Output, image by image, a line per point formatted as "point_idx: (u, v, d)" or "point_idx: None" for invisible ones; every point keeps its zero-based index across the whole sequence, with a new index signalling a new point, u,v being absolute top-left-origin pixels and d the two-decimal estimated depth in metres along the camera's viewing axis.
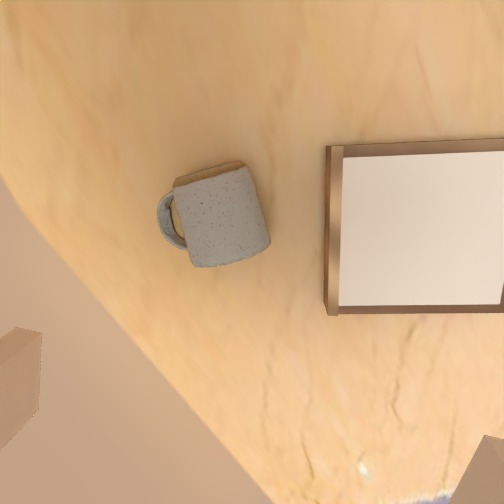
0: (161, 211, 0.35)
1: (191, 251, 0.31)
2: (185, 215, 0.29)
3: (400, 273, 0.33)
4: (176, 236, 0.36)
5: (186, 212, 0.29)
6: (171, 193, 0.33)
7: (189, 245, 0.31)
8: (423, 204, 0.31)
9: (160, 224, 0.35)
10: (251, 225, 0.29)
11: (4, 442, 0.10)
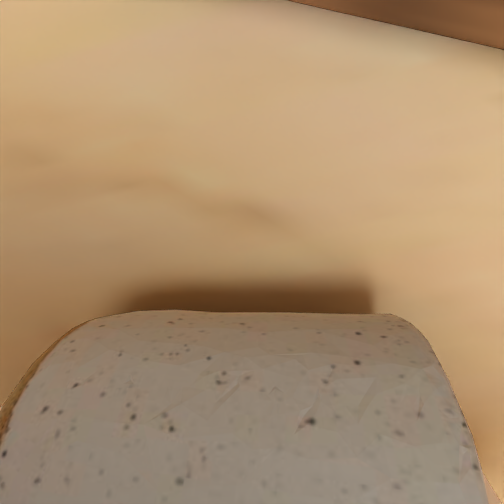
0: None
1: None
2: None
3: None
4: None
5: None
6: None
7: None
8: None
9: None
10: (296, 495, 0.05)
11: None
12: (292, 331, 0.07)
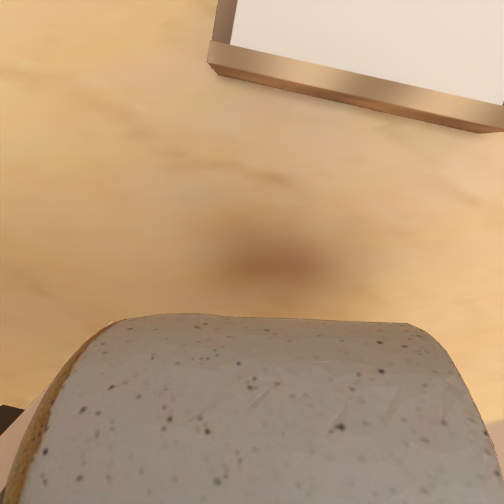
0: None
1: None
2: None
3: None
4: None
5: None
6: None
7: None
8: None
9: None
10: (329, 497, 0.05)
11: None
12: (316, 339, 0.07)
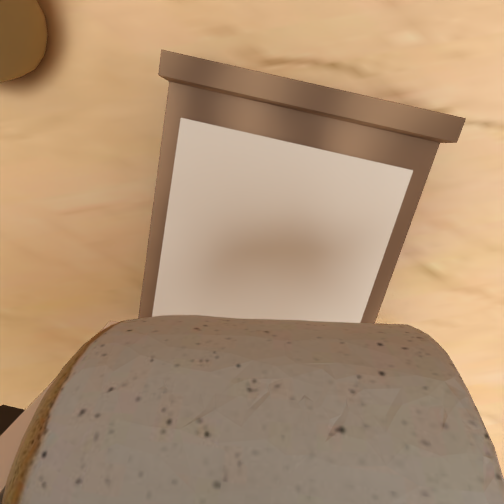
0: None
1: None
2: None
3: (316, 299, 0.23)
4: None
5: None
6: None
7: None
8: (226, 257, 0.23)
9: None
10: (329, 500, 0.05)
11: None
12: (316, 340, 0.07)
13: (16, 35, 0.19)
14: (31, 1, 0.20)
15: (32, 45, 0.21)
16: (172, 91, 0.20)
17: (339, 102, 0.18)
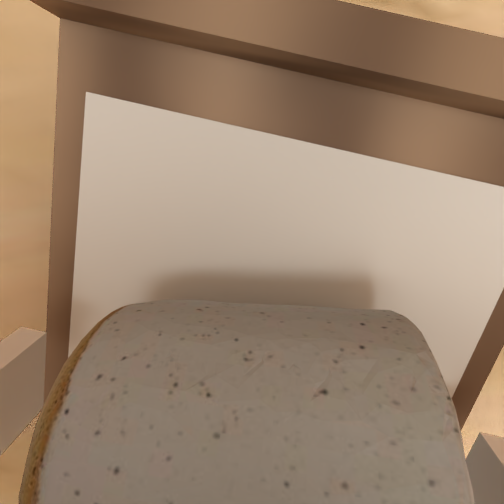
0: None
1: None
2: None
3: None
4: None
5: None
6: None
7: None
8: None
9: None
10: (312, 448, 0.06)
11: (9, 441, 0.10)
12: (306, 320, 0.08)
13: None
14: None
15: None
16: (67, 39, 0.10)
17: (419, 49, 0.08)
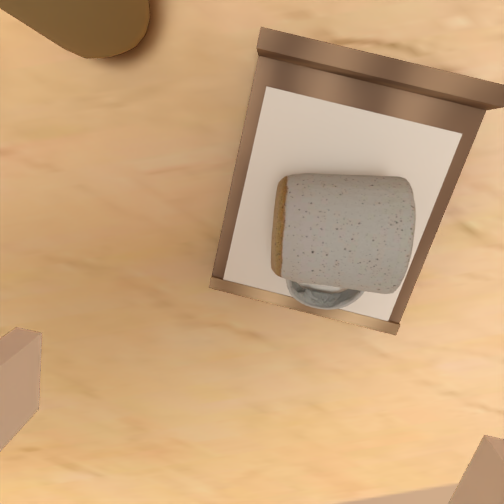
0: (304, 299, 0.27)
1: (370, 289, 0.22)
2: (320, 277, 0.21)
3: None
4: (341, 294, 0.28)
5: (317, 275, 0.21)
6: (287, 280, 0.26)
7: (361, 289, 0.22)
8: None
9: (319, 307, 0.28)
10: (369, 196, 0.20)
11: (4, 442, 0.10)
12: (362, 175, 0.22)
13: (138, 14, 0.23)
14: None
15: (143, 24, 0.25)
16: (260, 64, 0.24)
17: (406, 72, 0.22)
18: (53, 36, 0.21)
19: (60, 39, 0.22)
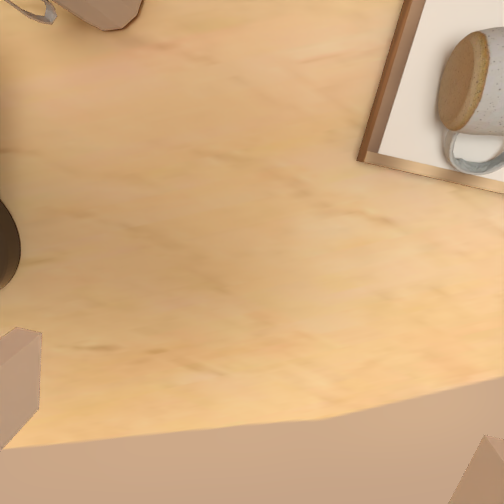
0: (460, 165, 0.31)
1: None
2: None
3: None
4: (492, 161, 0.31)
5: None
6: (452, 142, 0.29)
7: None
8: None
9: (473, 172, 0.31)
10: None
11: (4, 442, 0.10)
12: None
13: None
14: None
15: None
16: None
17: None
18: None
19: None
